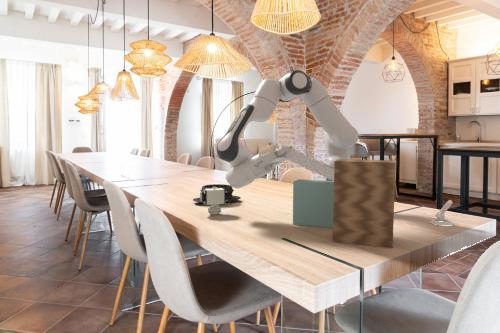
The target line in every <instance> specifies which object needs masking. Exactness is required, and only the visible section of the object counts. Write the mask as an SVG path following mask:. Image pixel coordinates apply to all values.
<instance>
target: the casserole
mask: <svg viewBox="0 0 500 333" xmlns="http://www.w3.org/2000/svg"><path fill="white" fill-rule="evenodd" d="M213 187H215V188H224V189H226V191H228V193H229V199H228V201H226V204H228V203H230V202H232V201H237V200H241V199H242V198H241V196H239V195H235V194H234V195H233V192H234V189H233V188H234V187H232V186H231V185H230V184H225V183H223V184H221V183H220V184H218V183H216V184H213V183H212V184H205V185H202V187H201V189H200V192H203V189H213ZM192 201H194V202H196V203H200V204H204V203H203V202H201V201H200V197H195V198H193V199H192Z"/></svg>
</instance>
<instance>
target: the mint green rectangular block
mask: <svg viewBox="0 0 500 333" xmlns="http://www.w3.org/2000/svg"><path fill="white" fill-rule="evenodd" d="M292 184H293V185H292V186H293V187H292V188H293V189H292V191H293V192H292V224H293V225H299V226H308V227H309V226H310V227H318V228H319V227H320V228H328V229H329V228H331V229H333V205H334V181H326V180H323V179H322V180H321V179H296V180H294V181H293V182H292Z"/></svg>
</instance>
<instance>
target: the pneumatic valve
mask: <svg viewBox="0 0 500 333" xmlns="http://www.w3.org/2000/svg"><path fill="white" fill-rule="evenodd" d="M199 198H200V201H201V202H203V203H202V204H204V205H205V206H209V207H207V208H208V209H207V212H208V214H210V215H211V216H217V215H219V216H220V213H221V212H222V207H221V206H219V205H226V204H227V203H226V201H228V199H229V193H228V191H226V189H224V188H215V187H213V189H203V192H201V191H200V194H199Z"/></svg>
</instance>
